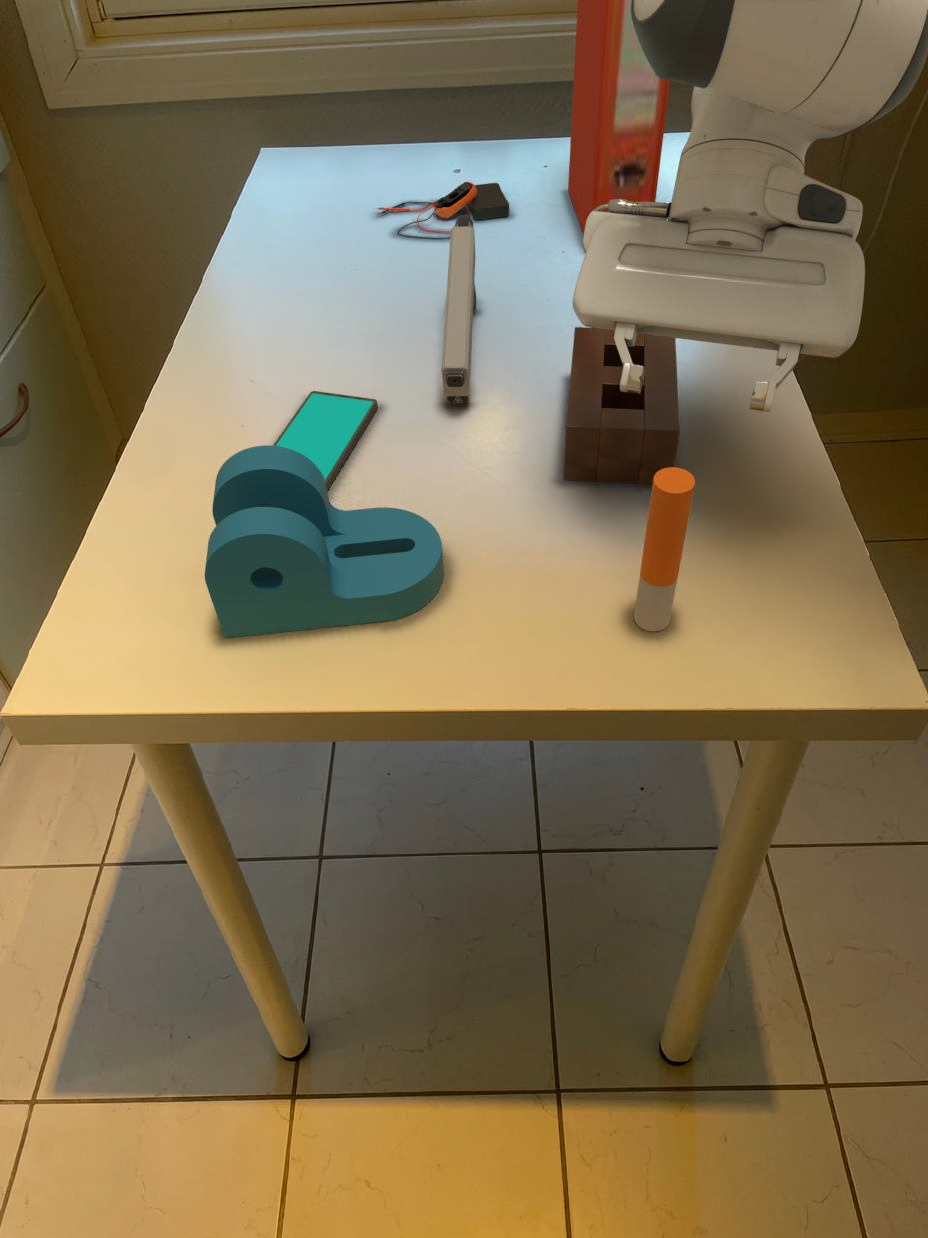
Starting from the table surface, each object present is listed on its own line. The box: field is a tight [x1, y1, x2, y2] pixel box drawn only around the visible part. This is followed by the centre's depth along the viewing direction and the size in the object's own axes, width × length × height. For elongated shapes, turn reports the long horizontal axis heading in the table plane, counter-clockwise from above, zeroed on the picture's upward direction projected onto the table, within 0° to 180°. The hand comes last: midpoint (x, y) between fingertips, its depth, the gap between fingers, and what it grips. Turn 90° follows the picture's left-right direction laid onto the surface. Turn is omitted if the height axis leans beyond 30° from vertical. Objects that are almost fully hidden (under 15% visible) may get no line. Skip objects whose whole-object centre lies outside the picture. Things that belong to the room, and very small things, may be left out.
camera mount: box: [204, 445, 445, 639], centre depth 74 cm, size 18×10×10 cm, turn 96°
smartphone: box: [272, 390, 378, 491], centre depth 90 cm, size 7×1×15 cm
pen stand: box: [562, 326, 681, 485], centre depth 88 cm, size 10×17×6 cm, turn 173°
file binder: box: [567, 0, 671, 235], centre depth 110 cm, size 8×17×32 cm, turn 4°
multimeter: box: [373, 181, 510, 240], centre depth 122 cm, size 18×12×3 cm, turn 96°
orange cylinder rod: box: [633, 466, 696, 632], centre depth 68 cm, size 3×3×14 cm
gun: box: [441, 214, 477, 405], centre depth 99 cm, size 2×25×10 cm, turn 178°
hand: (693, 400), depth 68 cm, fingers open, 8 cm apart
